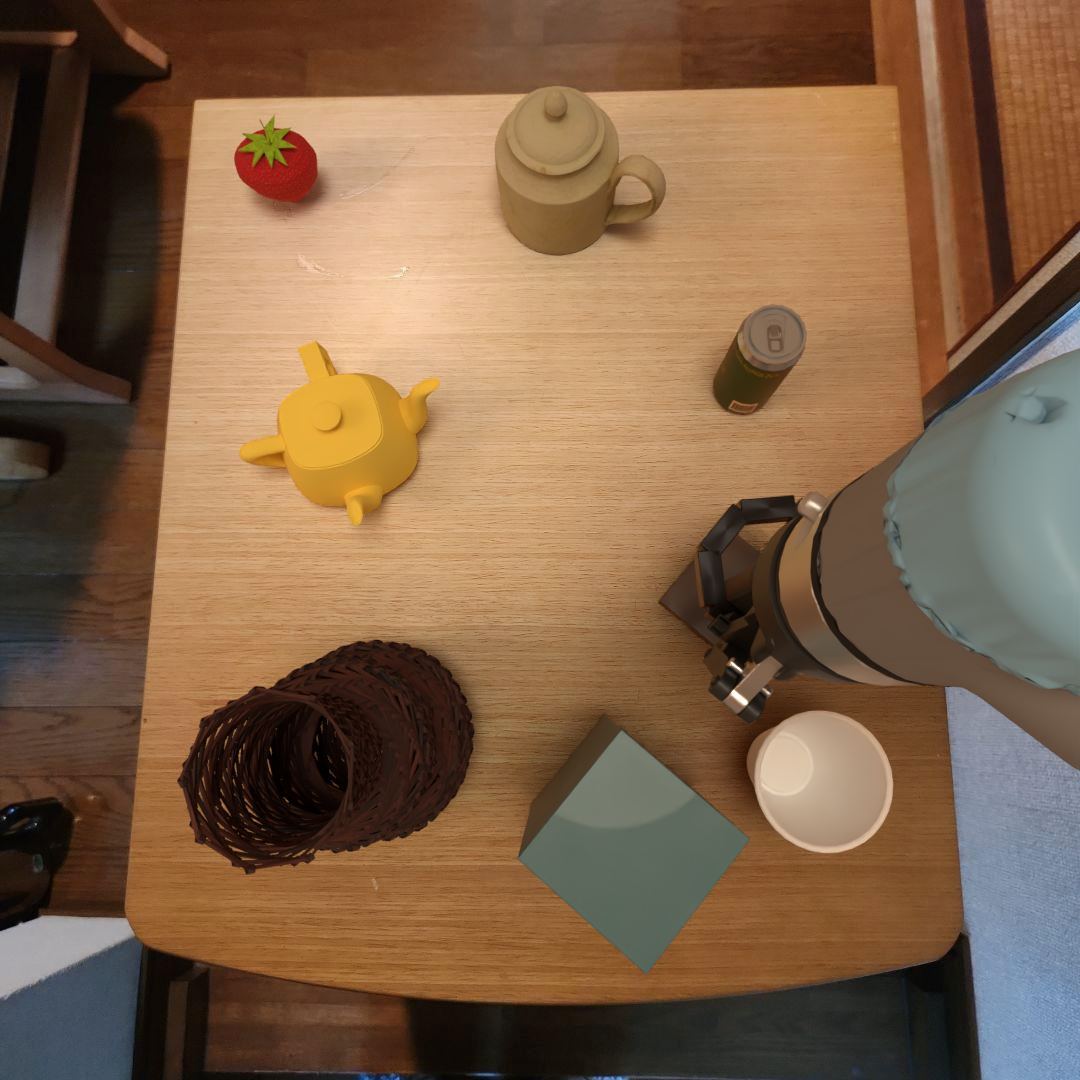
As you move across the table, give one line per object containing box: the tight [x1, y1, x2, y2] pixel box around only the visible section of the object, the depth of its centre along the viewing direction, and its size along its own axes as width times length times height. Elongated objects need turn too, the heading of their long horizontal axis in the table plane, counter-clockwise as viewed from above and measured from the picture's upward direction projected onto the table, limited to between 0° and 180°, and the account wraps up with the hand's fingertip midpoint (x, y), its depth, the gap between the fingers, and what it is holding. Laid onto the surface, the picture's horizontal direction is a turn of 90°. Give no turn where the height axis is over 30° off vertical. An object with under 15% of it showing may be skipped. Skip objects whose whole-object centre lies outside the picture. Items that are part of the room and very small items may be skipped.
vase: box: [176, 639, 475, 875], centre depth 53 cm, size 15×15×30 cm
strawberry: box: [233, 114, 319, 203], centre depth 72 cm, size 6×8×10 cm
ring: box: [693, 494, 804, 622], centre depth 54 cm, size 11×11×2 cm
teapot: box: [238, 340, 441, 526], centre depth 68 cm, size 14×13×10 cm
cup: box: [746, 710, 894, 854], centre depth 61 cm, size 10×10×11 cm
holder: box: [657, 534, 761, 666], centre depth 62 cm, size 9×9×14 cm
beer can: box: [712, 303, 808, 415], centre depth 66 cm, size 5×5×12 cm
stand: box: [517, 713, 751, 975], centre depth 57 cm, size 10×10×20 cm
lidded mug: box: [494, 85, 667, 256], centre depth 69 cm, size 15×11×15 cm
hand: (736, 623), depth 53 cm, fingers closed on ring, 2 cm apart
